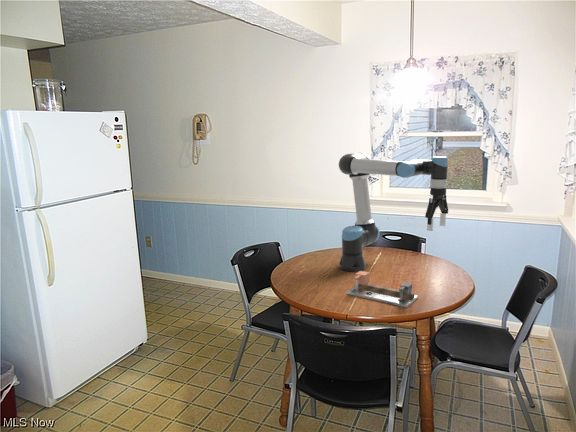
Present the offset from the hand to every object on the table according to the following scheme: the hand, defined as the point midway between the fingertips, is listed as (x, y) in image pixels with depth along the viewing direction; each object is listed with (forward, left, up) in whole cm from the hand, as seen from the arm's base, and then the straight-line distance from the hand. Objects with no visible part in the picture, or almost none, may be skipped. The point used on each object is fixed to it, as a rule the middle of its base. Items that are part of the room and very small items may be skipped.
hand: (436, 228), depth 219 cm
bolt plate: (-12, -38, -27) cm, 48 cm away
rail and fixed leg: (-12, -38, -25) cm, 47 cm away
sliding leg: (-24, -38, -25) cm, 51 cm away
